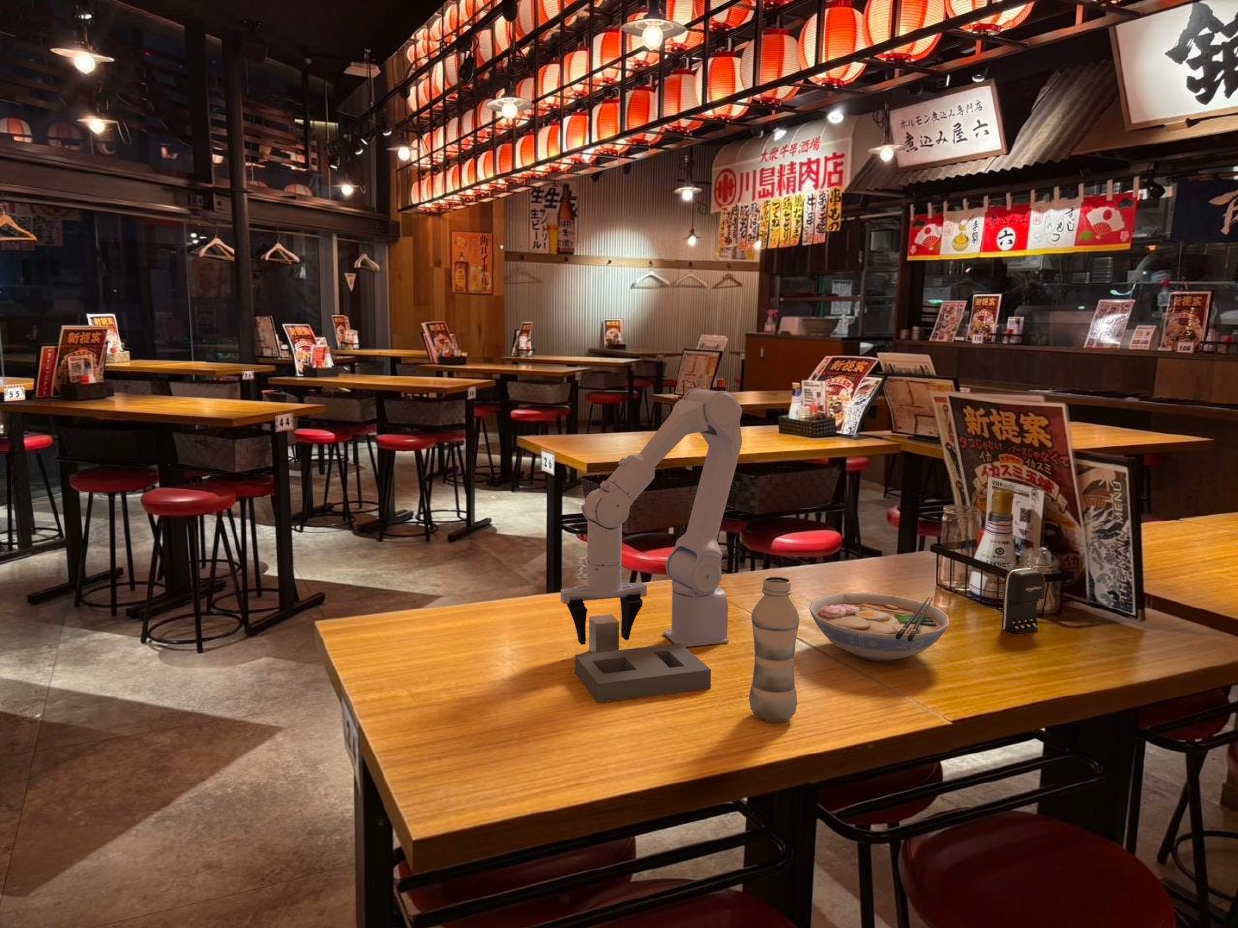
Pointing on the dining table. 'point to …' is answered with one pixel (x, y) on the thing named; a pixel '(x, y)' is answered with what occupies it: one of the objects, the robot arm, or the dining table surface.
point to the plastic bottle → (774, 652)
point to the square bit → (603, 633)
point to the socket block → (641, 672)
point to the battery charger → (1022, 599)
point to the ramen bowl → (879, 624)
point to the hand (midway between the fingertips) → (603, 640)
